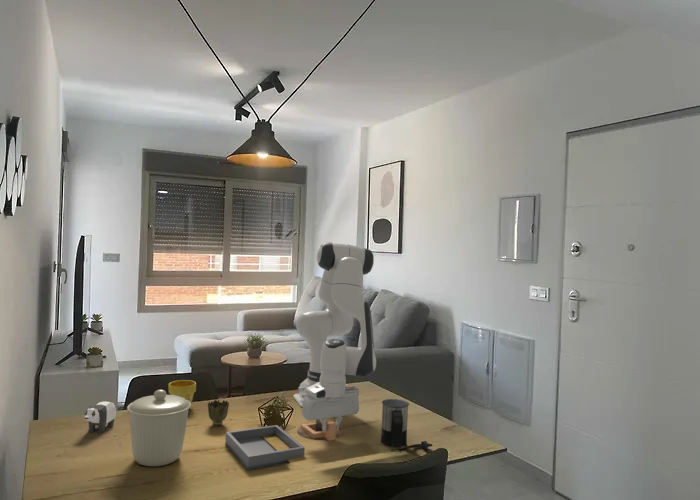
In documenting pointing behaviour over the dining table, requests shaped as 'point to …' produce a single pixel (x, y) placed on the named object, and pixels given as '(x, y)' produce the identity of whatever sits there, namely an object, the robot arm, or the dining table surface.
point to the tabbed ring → (326, 434)
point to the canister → (158, 428)
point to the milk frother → (396, 425)
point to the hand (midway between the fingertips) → (330, 429)
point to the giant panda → (100, 416)
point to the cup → (218, 411)
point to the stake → (318, 428)
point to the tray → (261, 447)
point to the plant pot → (183, 389)
